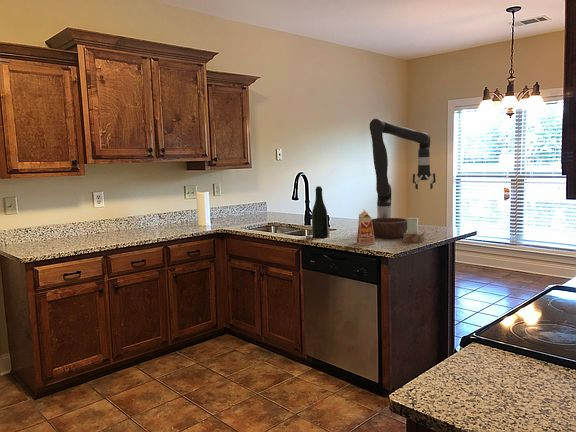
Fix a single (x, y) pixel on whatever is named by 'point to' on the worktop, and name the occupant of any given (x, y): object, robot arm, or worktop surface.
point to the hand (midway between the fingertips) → (424, 189)
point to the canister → (412, 225)
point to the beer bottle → (319, 216)
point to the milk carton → (365, 230)
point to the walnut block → (413, 237)
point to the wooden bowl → (389, 227)
